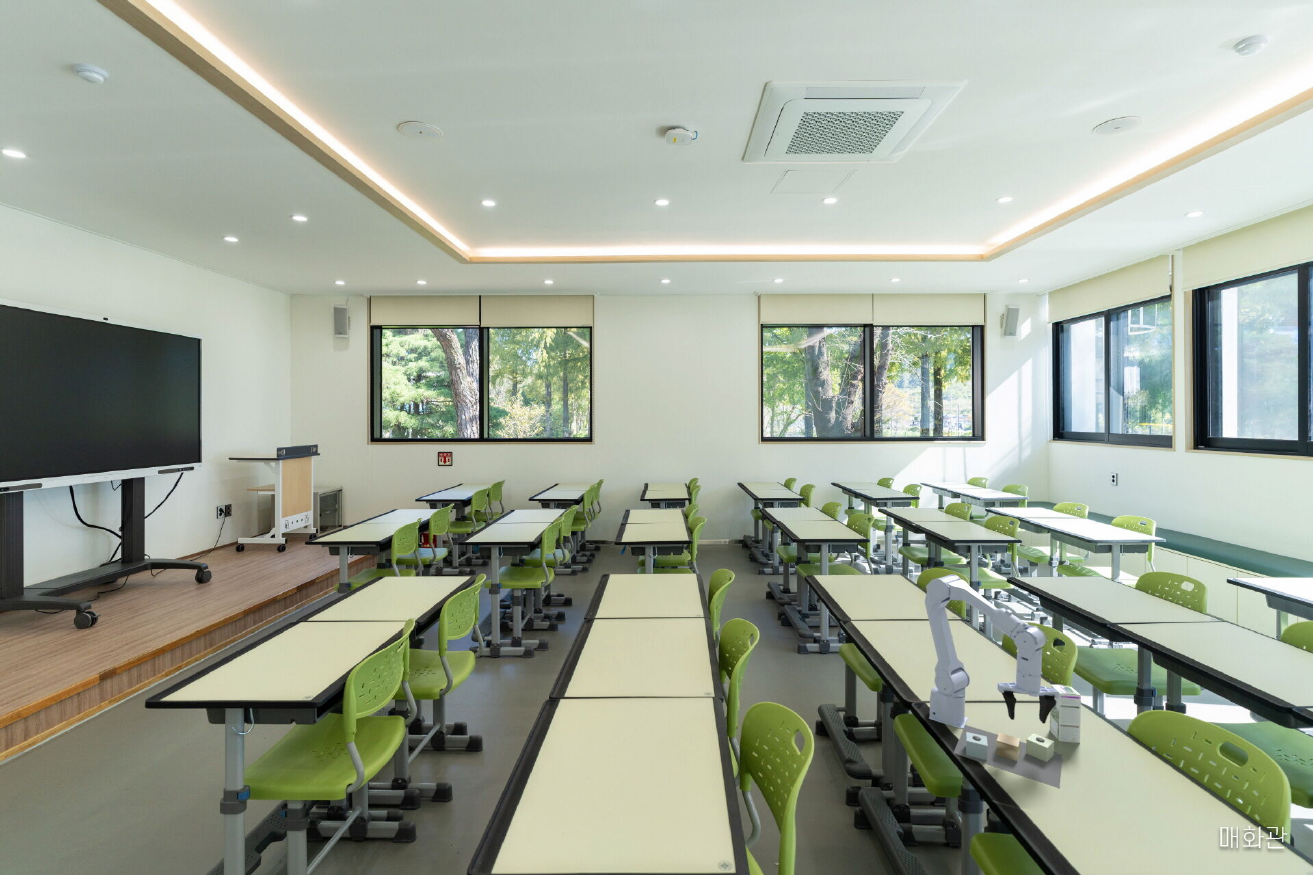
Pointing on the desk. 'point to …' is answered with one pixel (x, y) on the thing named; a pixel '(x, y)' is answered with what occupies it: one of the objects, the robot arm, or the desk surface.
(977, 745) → the slate dotted block
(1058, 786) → the rubber mat
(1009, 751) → the beech block
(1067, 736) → the syrup box
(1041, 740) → the sage dotted block
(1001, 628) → the robot arm
